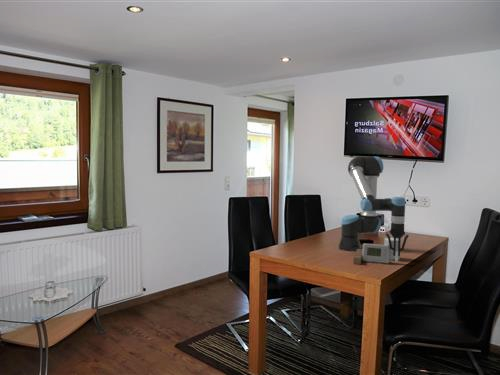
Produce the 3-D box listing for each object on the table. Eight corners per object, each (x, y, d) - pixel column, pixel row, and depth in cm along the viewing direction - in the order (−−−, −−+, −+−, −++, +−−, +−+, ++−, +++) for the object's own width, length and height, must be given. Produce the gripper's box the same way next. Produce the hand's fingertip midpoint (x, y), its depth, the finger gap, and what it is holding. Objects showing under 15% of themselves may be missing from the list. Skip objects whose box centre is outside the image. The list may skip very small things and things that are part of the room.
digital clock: (360, 261, 243) (360, 244, 243) (364, 258, 251) (365, 241, 250) (387, 265, 235) (388, 247, 234) (391, 262, 242) (391, 245, 241)
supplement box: (395, 257, 255) (395, 237, 254) (399, 260, 248) (400, 240, 247) (383, 257, 255) (384, 237, 254) (387, 260, 247) (388, 240, 246)
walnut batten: (356, 254, 260) (357, 248, 260) (363, 255, 259) (363, 249, 259) (353, 263, 238) (353, 257, 237) (360, 264, 236) (360, 258, 236)
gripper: (386, 223, 236) (384, 261, 237) (409, 224, 231) (408, 264, 233) (386, 221, 243) (385, 258, 244) (409, 222, 238) (407, 260, 240)
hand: (396, 261), depth 239 cm, fingers closed
